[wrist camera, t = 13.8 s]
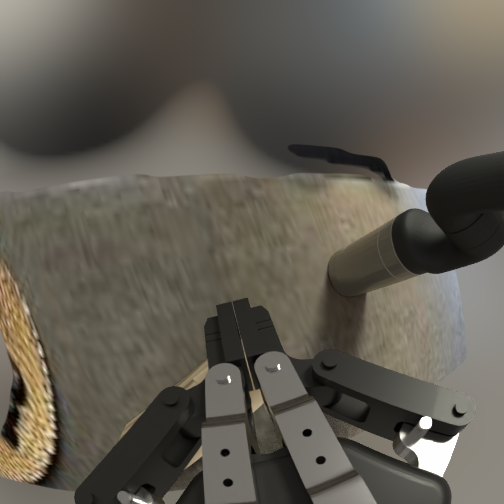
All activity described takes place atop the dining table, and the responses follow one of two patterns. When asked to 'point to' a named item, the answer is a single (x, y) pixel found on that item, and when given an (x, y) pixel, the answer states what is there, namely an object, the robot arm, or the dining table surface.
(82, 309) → the dining table surface
